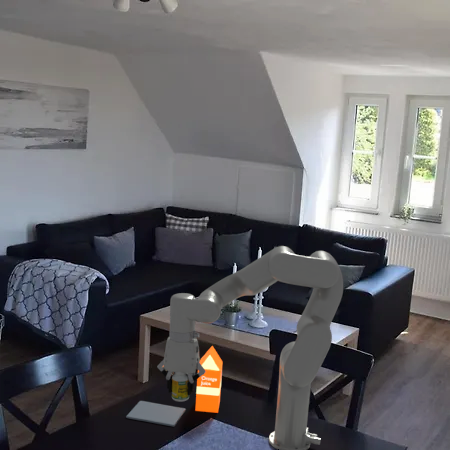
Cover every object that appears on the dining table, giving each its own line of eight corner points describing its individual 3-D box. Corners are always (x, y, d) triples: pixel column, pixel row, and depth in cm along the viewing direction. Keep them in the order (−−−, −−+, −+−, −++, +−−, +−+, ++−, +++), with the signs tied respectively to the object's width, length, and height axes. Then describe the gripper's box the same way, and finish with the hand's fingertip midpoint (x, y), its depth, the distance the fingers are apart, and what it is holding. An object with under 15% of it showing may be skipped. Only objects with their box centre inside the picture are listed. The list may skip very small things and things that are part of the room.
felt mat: (185, 410, 210) (185, 408, 210) (174, 426, 199) (174, 424, 199) (140, 402, 214) (140, 400, 214) (126, 417, 202) (126, 416, 202)
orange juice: (220, 401, 219) (224, 346, 215) (218, 412, 210) (222, 355, 207) (197, 399, 219) (201, 344, 216) (194, 410, 210) (198, 353, 207)
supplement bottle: (183, 393, 196) (184, 363, 194) (192, 399, 192) (193, 369, 190) (168, 396, 193) (169, 366, 192) (177, 403, 189) (177, 372, 187)
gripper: (213, 334, 191) (211, 391, 194) (159, 328, 195) (158, 383, 198) (206, 342, 184) (204, 401, 187) (150, 335, 187) (149, 393, 190)
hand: (180, 391), depth 192 cm, fingers closed on supplement bottle, 5 cm apart
